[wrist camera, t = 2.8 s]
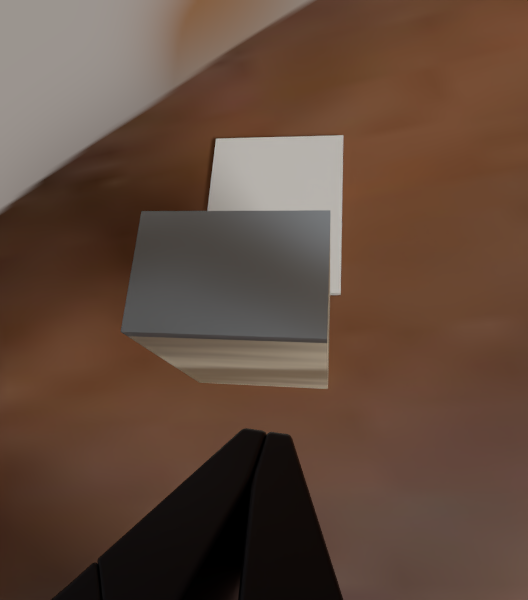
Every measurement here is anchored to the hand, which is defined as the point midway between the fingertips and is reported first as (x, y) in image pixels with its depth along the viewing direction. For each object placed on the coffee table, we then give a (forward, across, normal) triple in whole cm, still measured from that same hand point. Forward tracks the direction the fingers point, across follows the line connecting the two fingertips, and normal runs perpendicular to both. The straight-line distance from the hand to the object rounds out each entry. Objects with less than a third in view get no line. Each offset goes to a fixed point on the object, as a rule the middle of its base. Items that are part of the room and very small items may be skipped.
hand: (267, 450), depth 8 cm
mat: (+18, +3, 0) cm, 18 cm away
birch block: (+13, +2, +5) cm, 14 cm away
